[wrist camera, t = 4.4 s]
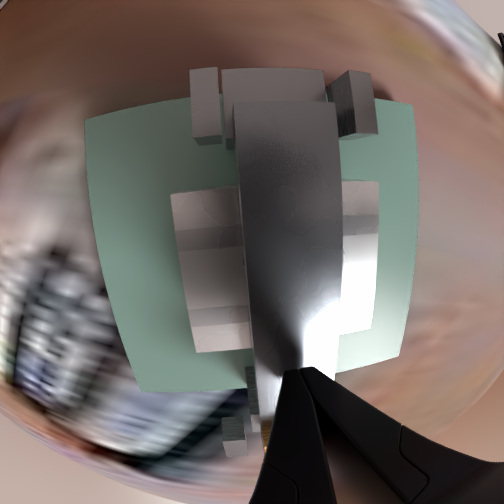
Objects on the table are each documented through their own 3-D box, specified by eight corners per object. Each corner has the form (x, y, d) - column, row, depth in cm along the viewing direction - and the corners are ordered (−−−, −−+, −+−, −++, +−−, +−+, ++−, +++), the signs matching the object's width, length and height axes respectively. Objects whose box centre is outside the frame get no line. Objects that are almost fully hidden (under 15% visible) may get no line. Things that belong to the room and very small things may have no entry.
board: (398, 109, 11) (412, 105, 9) (388, 345, 14) (398, 356, 13) (96, 124, 10) (84, 119, 8) (146, 377, 13) (141, 391, 12)
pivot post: (305, 103, 10) (366, 56, 5) (309, 150, 11) (378, 134, 6) (205, 107, 10) (188, 51, 5) (208, 156, 11) (192, 138, 5)
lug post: (301, 344, 13) (336, 423, 8) (301, 362, 14) (332, 440, 9) (221, 354, 13) (222, 441, 8) (224, 371, 13) (227, 457, 8)
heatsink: (342, 178, 10) (378, 181, 7) (341, 296, 12) (370, 328, 9) (185, 189, 10) (170, 194, 7) (201, 312, 11) (196, 352, 8)
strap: (231, 110, 6) (234, 91, 5) (323, 109, 6) (348, 94, 5) (260, 432, 9) (265, 463, 8) (319, 422, 9) (330, 450, 8)
